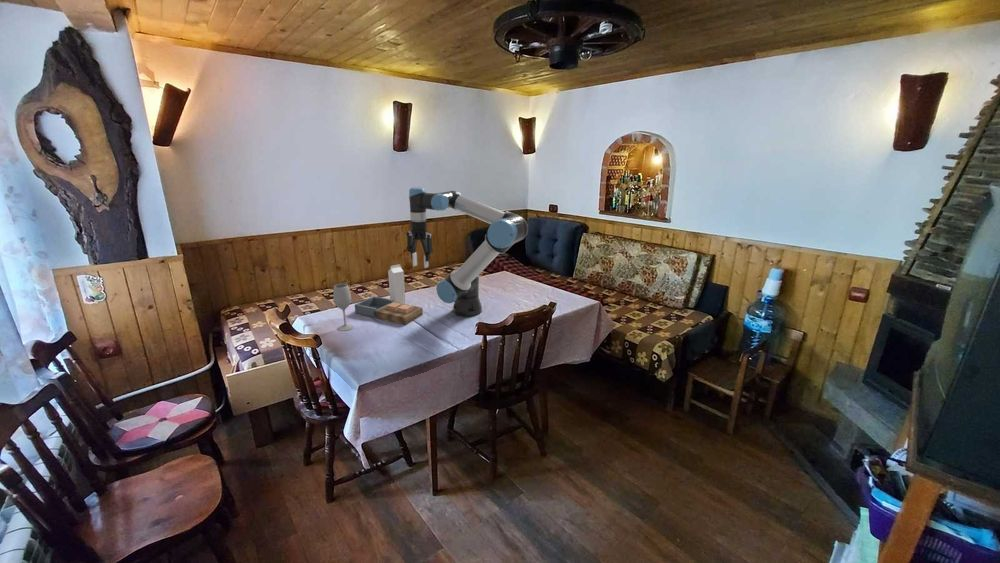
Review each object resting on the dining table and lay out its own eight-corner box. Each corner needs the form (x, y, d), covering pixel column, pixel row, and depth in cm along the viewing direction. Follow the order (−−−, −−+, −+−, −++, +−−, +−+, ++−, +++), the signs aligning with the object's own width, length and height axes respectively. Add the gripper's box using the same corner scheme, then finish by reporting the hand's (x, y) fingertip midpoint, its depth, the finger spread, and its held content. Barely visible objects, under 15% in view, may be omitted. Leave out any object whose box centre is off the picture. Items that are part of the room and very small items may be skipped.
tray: (393, 308, 208) (393, 299, 206) (375, 318, 196) (374, 309, 194) (374, 304, 213) (373, 296, 211) (355, 313, 201) (354, 304, 199)
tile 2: (412, 309, 197) (412, 306, 196) (406, 313, 193) (405, 309, 192) (404, 308, 199) (403, 304, 198) (397, 311, 195) (397, 307, 194)
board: (422, 314, 201) (422, 307, 200) (406, 325, 189) (405, 317, 188) (394, 308, 208) (393, 301, 207) (376, 318, 196) (375, 311, 194)
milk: (405, 304, 215) (403, 265, 208) (395, 306, 211) (393, 267, 204) (400, 300, 219) (397, 262, 212) (390, 303, 215) (387, 264, 208)
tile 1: (401, 307, 200) (401, 303, 199) (395, 310, 195) (395, 307, 195) (393, 305, 201) (393, 302, 201) (387, 309, 197) (387, 305, 196)
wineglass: (338, 332, 180) (332, 289, 174) (336, 325, 187) (331, 284, 180) (355, 329, 184) (350, 287, 177) (353, 323, 190) (348, 282, 183)
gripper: (439, 221, 189) (440, 267, 196) (407, 217, 196) (409, 262, 204) (430, 223, 182) (432, 270, 190) (397, 219, 190) (400, 265, 197)
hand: (420, 266), depth 197 cm, fingers open, 6 cm apart
